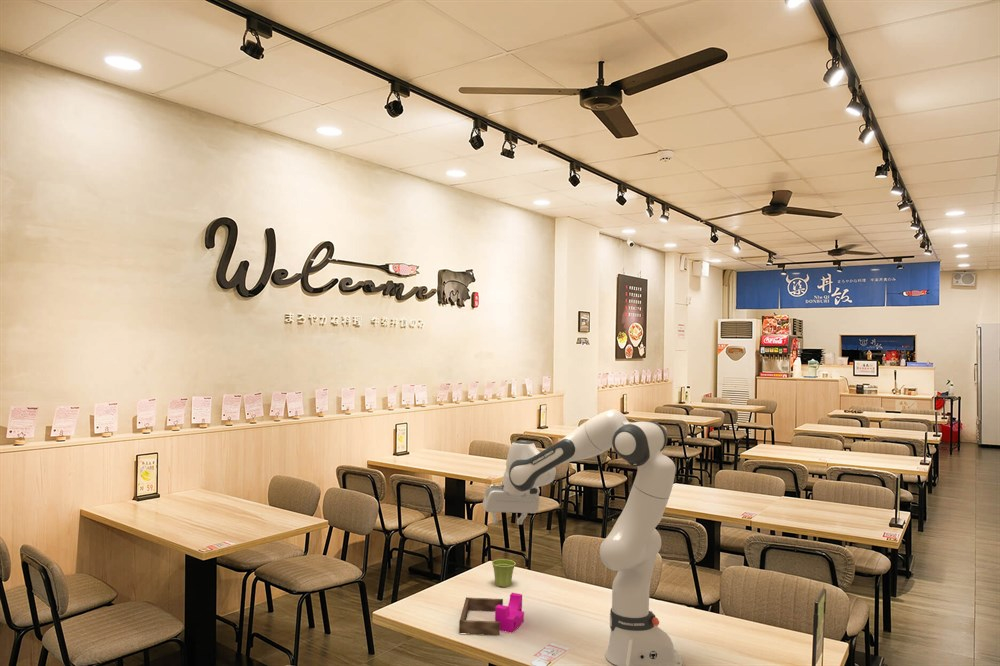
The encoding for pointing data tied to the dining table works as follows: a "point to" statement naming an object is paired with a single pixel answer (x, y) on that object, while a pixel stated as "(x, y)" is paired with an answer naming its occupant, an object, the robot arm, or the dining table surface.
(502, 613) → the toy block
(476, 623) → the walnut bay
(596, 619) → the dining table surface
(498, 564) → the plant pot
